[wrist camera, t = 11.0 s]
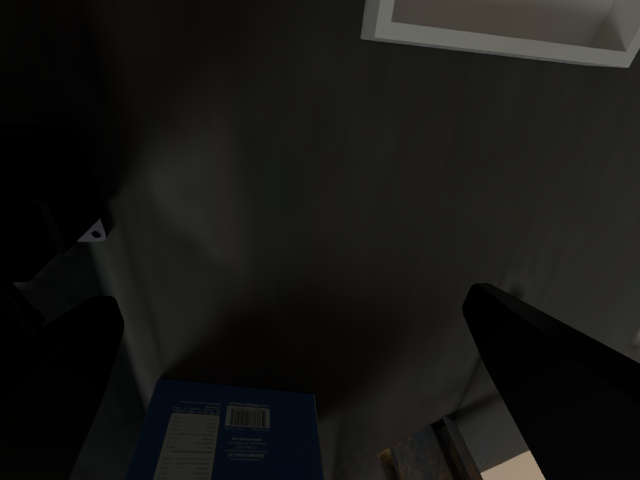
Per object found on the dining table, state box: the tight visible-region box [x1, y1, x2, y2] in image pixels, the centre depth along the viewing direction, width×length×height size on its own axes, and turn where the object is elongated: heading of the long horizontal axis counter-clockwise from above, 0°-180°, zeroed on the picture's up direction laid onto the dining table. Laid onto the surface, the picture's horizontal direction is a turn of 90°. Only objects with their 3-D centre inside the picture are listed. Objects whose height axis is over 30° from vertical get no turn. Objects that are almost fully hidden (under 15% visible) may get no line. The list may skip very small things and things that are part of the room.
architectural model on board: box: [377, 416, 483, 480], centre depth 36 cm, size 11×3×10 cm, turn 136°
